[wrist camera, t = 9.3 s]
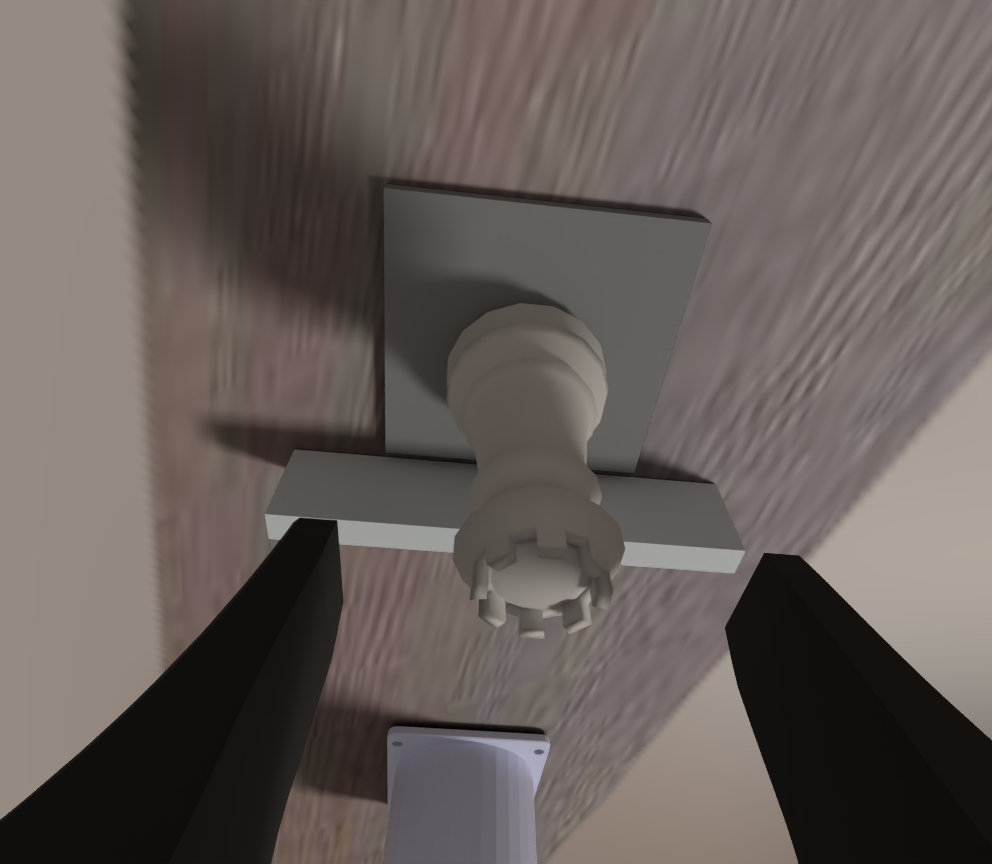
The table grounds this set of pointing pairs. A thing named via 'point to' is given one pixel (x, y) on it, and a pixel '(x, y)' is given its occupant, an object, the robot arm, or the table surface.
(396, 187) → the charcoal pad
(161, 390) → the table surface
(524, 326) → the rook chess piece
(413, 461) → the grey acrylic wall
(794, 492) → the table surface
